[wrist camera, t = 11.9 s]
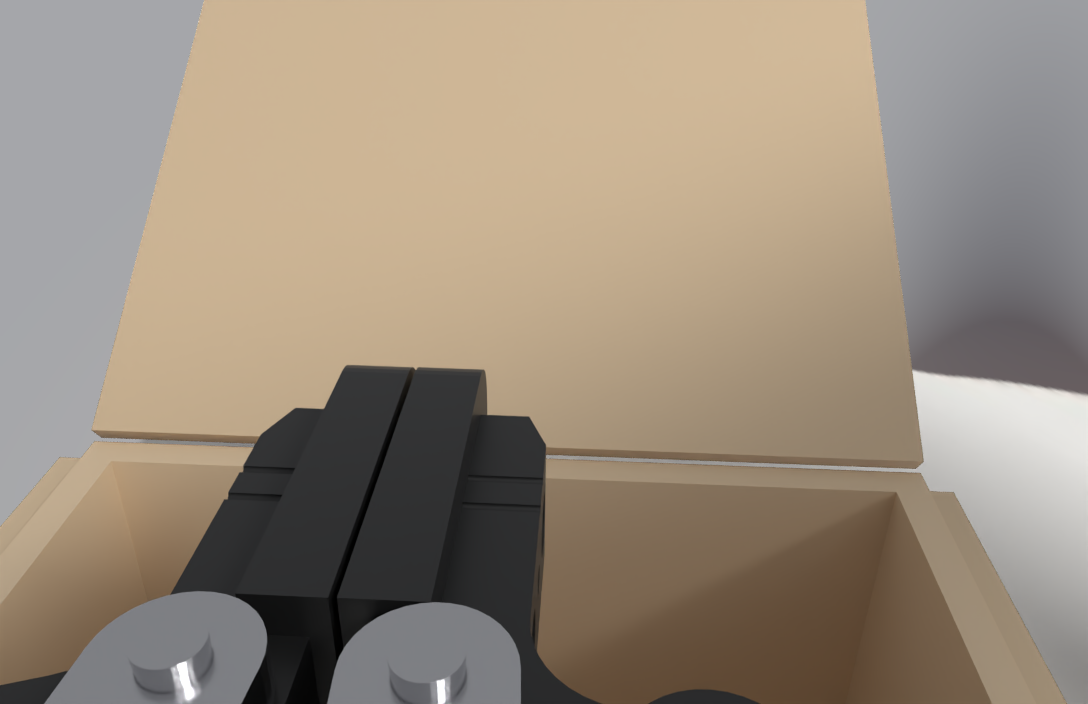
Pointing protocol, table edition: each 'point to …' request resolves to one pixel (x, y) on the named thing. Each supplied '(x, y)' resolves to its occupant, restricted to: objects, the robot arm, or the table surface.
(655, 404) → the lid flap
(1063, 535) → the table surface
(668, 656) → the carton
